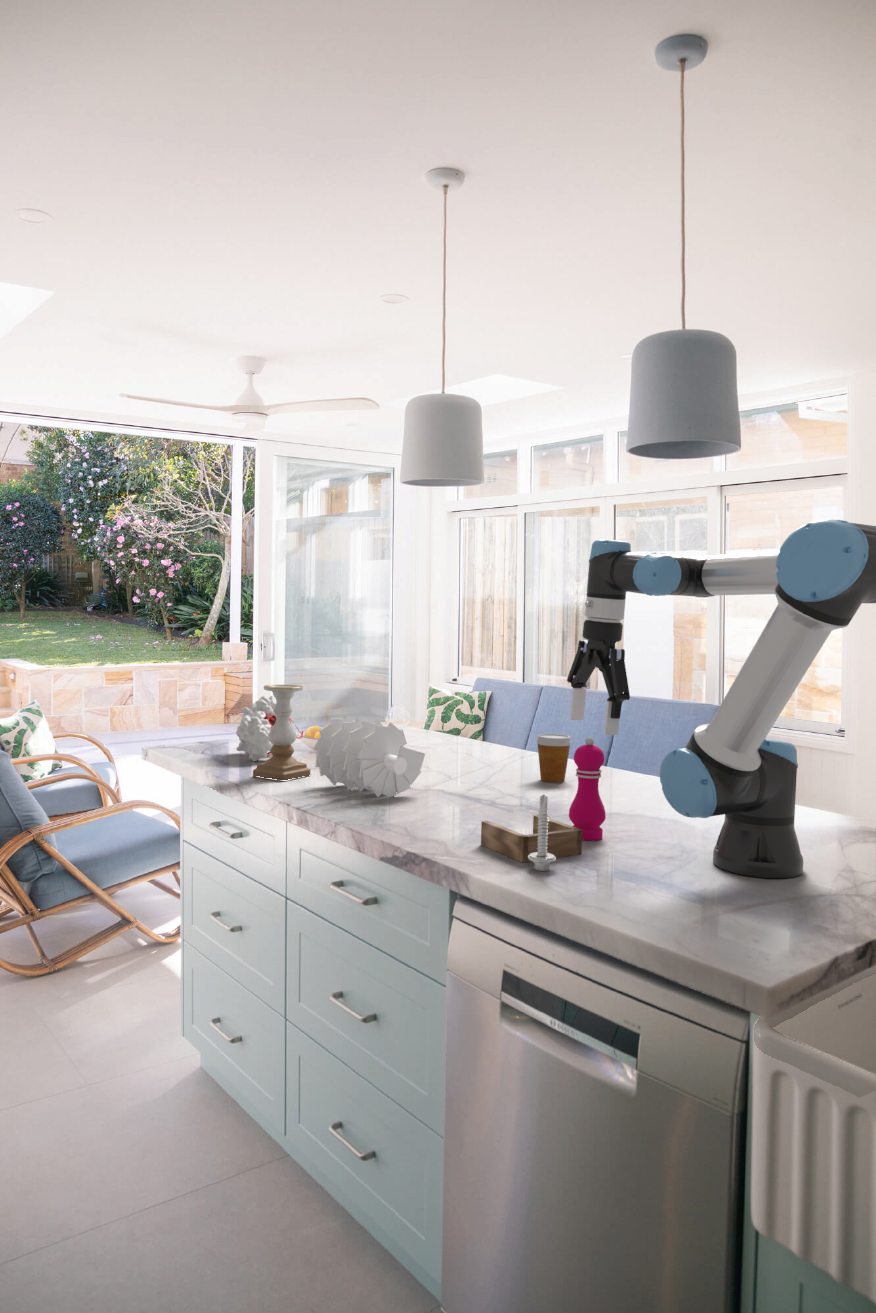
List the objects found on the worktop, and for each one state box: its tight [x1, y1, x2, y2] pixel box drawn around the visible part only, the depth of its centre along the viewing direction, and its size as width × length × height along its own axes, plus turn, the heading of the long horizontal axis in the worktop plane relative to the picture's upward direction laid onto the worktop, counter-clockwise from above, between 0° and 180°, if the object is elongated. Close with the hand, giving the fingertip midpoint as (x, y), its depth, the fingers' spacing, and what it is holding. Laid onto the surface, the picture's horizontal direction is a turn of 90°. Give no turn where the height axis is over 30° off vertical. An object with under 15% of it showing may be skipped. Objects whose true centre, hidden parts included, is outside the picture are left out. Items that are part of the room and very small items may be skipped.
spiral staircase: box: [313, 714, 426, 798], centre depth 217 cm, size 18×18×25 cm
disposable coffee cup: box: [535, 733, 573, 784], centre depth 237 cm, size 10×10×12 cm
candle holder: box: [252, 684, 311, 780], centre depth 233 cm, size 11×11×24 cm
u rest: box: [480, 814, 583, 864], centre depth 166 cm, size 13×13×4 cm
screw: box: [528, 794, 557, 872], centre depth 153 cm, size 13×5×5 cm
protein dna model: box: [235, 695, 304, 762], centre depth 264 cm, size 20×18×25 cm
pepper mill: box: [568, 736, 607, 842], centre depth 176 cm, size 7×7×20 cm
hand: (593, 727), depth 175 cm, fingers open, 13 cm apart
